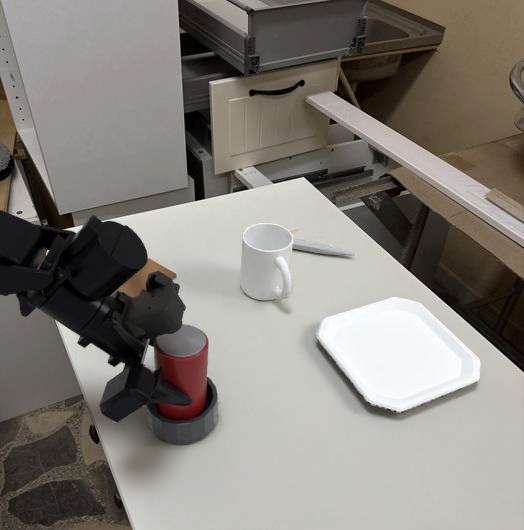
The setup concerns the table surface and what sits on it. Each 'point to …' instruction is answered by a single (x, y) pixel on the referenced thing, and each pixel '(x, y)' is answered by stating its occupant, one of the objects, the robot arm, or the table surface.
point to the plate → (398, 353)
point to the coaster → (143, 278)
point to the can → (183, 369)
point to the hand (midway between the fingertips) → (193, 382)
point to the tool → (319, 248)
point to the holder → (185, 421)
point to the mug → (266, 261)
